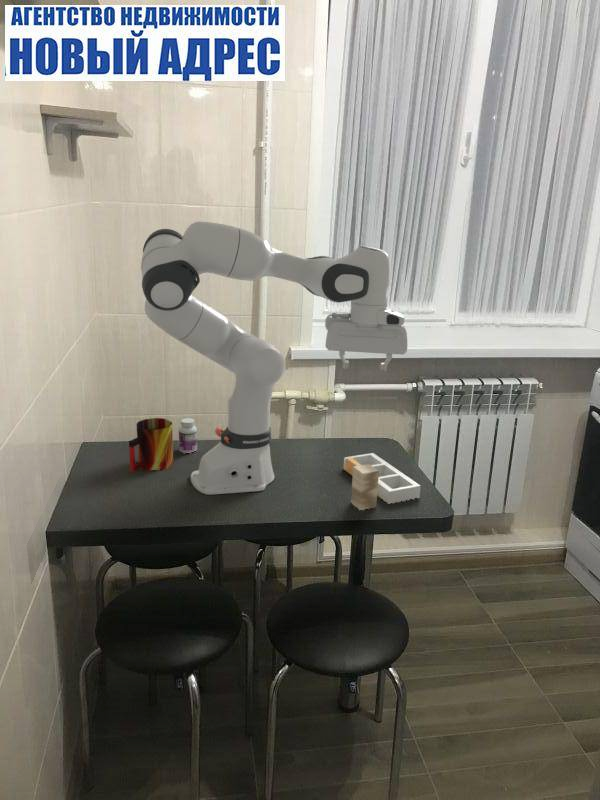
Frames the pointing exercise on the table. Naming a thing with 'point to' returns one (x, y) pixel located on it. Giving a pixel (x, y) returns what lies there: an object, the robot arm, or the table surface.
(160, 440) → the mug
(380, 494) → the rack
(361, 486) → the wooden block
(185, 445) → the pill bottle
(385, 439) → the table surface
